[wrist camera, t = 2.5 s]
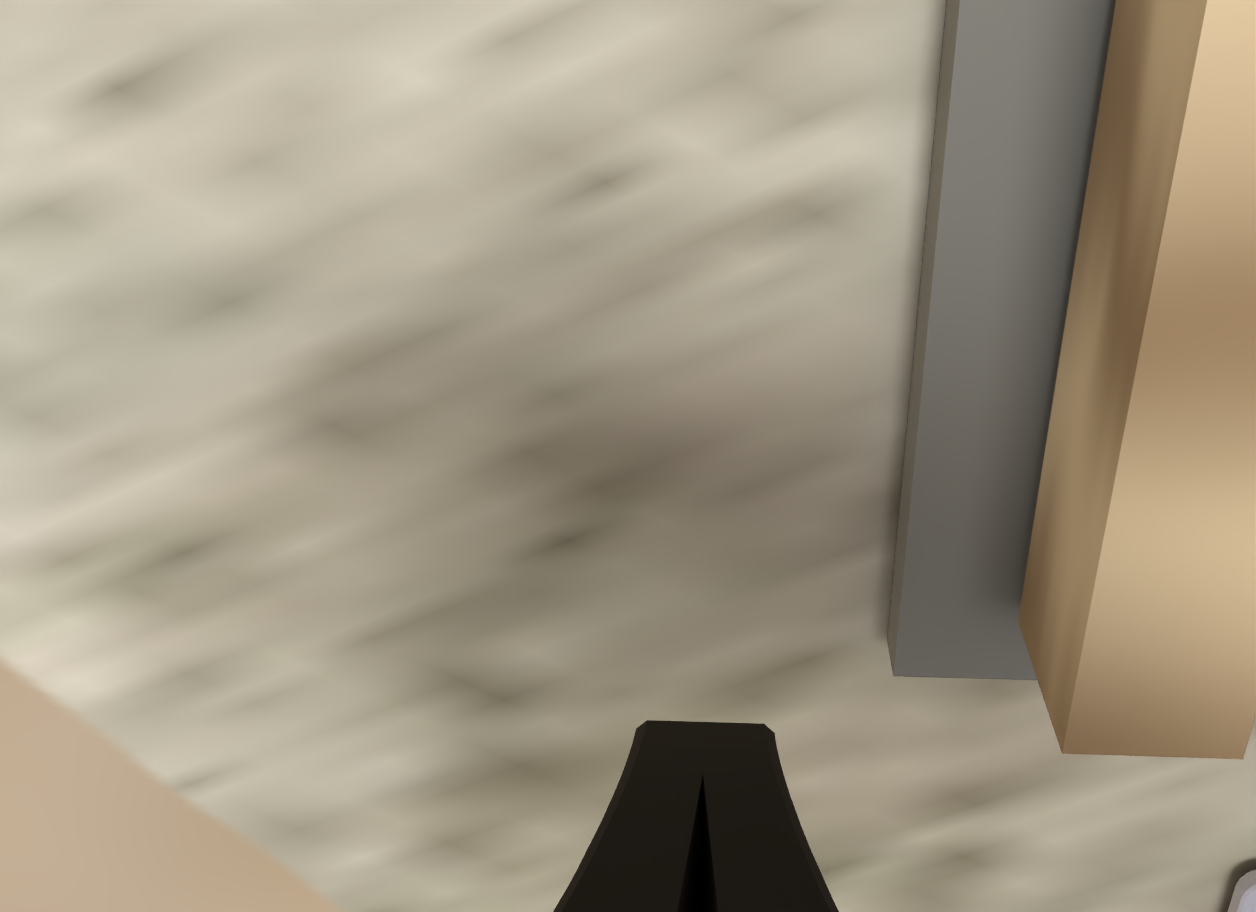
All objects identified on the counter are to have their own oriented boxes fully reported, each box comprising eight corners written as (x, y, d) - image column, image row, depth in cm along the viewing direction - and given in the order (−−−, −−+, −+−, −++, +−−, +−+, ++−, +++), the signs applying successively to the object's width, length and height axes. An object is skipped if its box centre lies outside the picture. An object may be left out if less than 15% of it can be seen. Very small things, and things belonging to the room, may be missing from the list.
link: (1117, -686, 12) (1229, -824, 9) (1600, -718, 11) (1859, -869, 9) (954, 619, 19) (987, 750, 17) (1239, 626, 19) (1319, 761, 16)
